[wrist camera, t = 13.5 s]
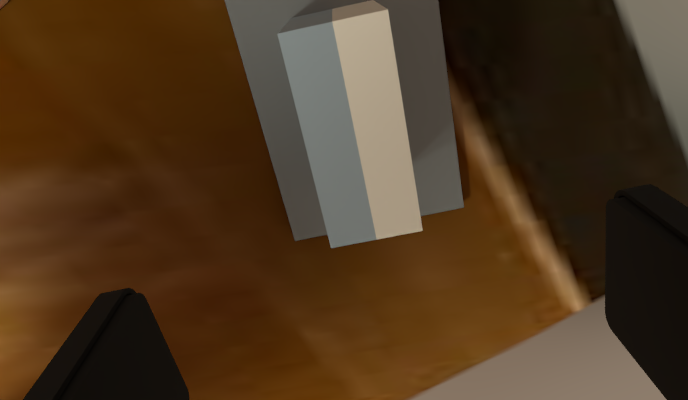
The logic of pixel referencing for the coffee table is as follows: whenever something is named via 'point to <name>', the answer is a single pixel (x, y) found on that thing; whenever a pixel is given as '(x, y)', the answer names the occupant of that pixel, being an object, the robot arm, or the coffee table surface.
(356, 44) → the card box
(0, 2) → the tin
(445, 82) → the mat
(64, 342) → the robot arm
